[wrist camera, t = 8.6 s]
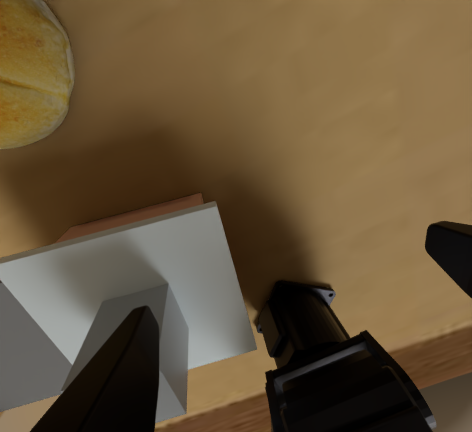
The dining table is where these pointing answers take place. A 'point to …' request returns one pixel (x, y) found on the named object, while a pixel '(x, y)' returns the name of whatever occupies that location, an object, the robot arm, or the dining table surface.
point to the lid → (139, 294)
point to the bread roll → (32, 72)
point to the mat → (26, 357)
